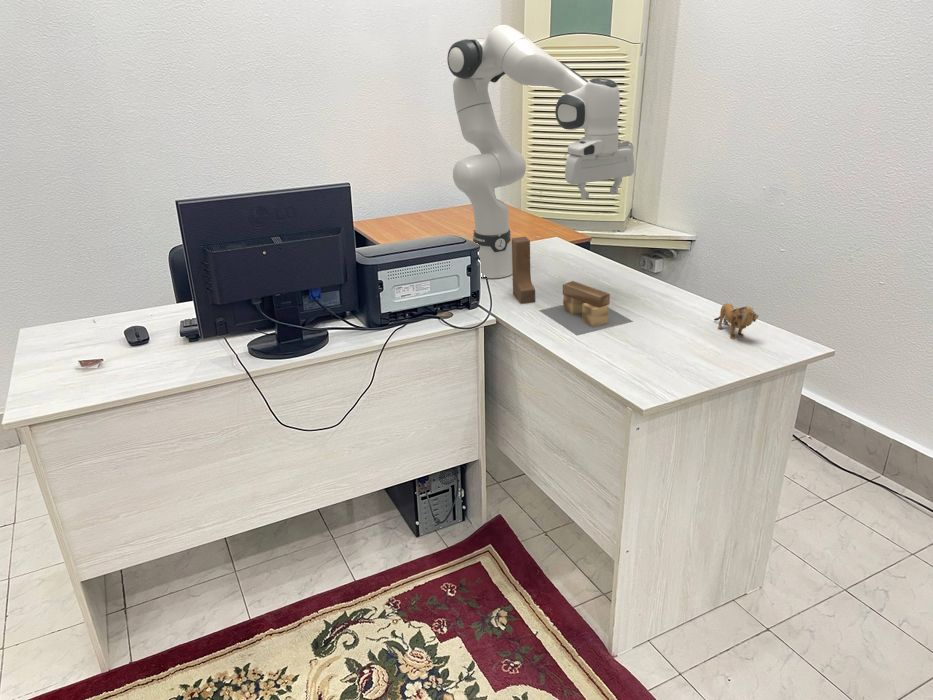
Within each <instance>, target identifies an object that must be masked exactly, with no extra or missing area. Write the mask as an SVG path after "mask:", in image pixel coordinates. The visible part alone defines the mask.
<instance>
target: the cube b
mask: <svg viewBox="0 0 933 700" xmlns="http://www.w3.org/2000/svg"><path fill="white" fill-rule="evenodd" d="M609 308H610V307H609V304H608V305H606V306H603V307H600V308H598V307H595V306H593V305H590V304H587V303H584V304H583V308H582V321H584V322H585V323H587V324H588V325H590V326H592V327H594V326H598V325H602V324H606V323H608V310H609Z"/></svg>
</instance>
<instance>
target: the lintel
mask: <svg viewBox="0 0 933 700" xmlns="http://www.w3.org/2000/svg"><path fill="white" fill-rule="evenodd" d="M563 295H566V296H568V297H571V298H574V299H576V300H579V301H582V302H585V303H587V304H590V305H593V306H595V307H598V308H600V307H603V306H606V305H608V306H609V305H610V302H611V294H610V292H606V291H603V290H600V289H598V288H595V287H591V286H589V285H586V284H582V283H580V282H577V281H575V280H572V281H569V282H566V283H563V284H562V296H563Z"/></svg>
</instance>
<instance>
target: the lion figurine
mask: <svg viewBox="0 0 933 700" xmlns="http://www.w3.org/2000/svg"><path fill="white" fill-rule="evenodd" d="M753 309H754V308H753V307H752V306H743V307H739V308H738V307H737V308H734V306H733V304H731V303H728V302H726V303H724V304H723V305H722V306H721V308H720V313H719V316H718V317H715V318H714V319H713V321H716V322H717V321H718V327H717V329H718V330H722V329H723V326H722V325H723V324H724V325H728V324H730V336H729V337H730V339H731V340H735V339H736V334H735V331H736V329H738V330H737V336H738V337H740V338H741V337H744V334H743V333H742V331H743V330H744V329H746V328H747V327H749V326H750V325H752V324H753V323H755V322H756V321H757V320H758V318H759V314H757V313H755V311H754V310H753Z"/></svg>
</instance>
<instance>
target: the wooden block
mask: <svg viewBox="0 0 933 700" xmlns="http://www.w3.org/2000/svg"><path fill="white" fill-rule="evenodd" d="M511 243H512V274H511V275H512V295H513V296H514V297H515V299H516V300H517V302H519V304H521V305H523V304H525V305H526V304H531V303H532V304H533V303H535V302H536V288H535V286H534V285H533V281H532V276H531V275H532V274H531V241H530V239H528V238H527V237H526V236H521V237H520V236H519V237H512V238H511Z"/></svg>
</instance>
